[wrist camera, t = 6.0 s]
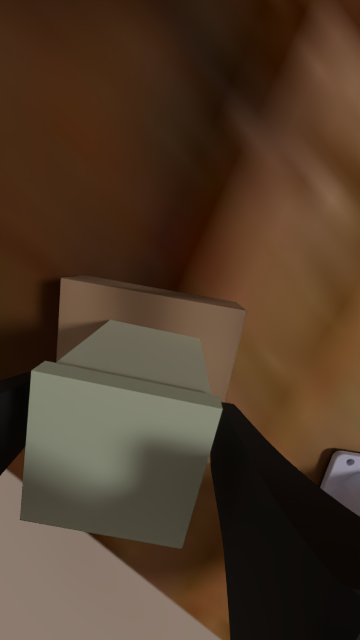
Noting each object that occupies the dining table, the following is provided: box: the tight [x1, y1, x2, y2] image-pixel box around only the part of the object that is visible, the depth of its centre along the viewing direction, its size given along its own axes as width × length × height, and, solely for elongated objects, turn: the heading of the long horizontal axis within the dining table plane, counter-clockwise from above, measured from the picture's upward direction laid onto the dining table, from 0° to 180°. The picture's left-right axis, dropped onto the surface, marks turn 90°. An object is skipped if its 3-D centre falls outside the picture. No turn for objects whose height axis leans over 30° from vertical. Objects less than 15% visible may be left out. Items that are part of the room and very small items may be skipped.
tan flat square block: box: [56, 275, 247, 463], centre depth 14 cm, size 9×9×3 cm
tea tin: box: [20, 320, 223, 549], centre depth 9 cm, size 5×5×6 cm
